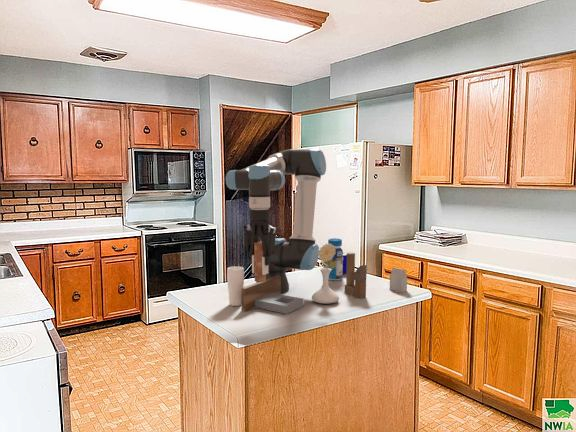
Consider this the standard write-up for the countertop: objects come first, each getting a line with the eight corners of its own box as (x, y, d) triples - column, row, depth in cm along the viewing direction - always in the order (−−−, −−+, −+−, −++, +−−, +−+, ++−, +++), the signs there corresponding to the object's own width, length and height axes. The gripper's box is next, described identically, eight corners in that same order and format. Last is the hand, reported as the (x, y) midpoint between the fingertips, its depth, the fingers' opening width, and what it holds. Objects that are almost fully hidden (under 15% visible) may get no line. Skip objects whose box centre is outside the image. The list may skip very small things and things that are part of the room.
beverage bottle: (324, 276, 228) (325, 238, 226) (340, 276, 229) (341, 237, 227) (327, 280, 219) (328, 240, 217) (344, 280, 220) (345, 240, 218)
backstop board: (241, 310, 173) (241, 287, 172) (276, 296, 193) (276, 275, 192) (245, 311, 171) (245, 288, 171) (280, 297, 191) (280, 276, 190)
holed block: (255, 307, 176) (254, 299, 176) (272, 299, 186) (272, 292, 186) (286, 314, 168) (286, 306, 168) (303, 306, 178) (303, 298, 178)
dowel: (252, 281, 161) (252, 242, 159) (259, 278, 164) (258, 241, 163) (261, 282, 159) (261, 243, 157) (268, 280, 162) (267, 242, 160)
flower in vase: (306, 299, 187) (307, 241, 185) (330, 296, 192) (331, 239, 189) (321, 308, 176) (322, 245, 173) (346, 305, 180) (347, 244, 178)
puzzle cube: (332, 275, 232) (332, 256, 231) (323, 271, 241) (323, 253, 240) (348, 273, 236) (349, 254, 235) (339, 269, 245) (339, 251, 244)
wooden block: (359, 298, 190) (360, 256, 188) (344, 292, 199) (344, 252, 197) (366, 297, 191) (367, 256, 190) (350, 291, 201) (351, 252, 199)
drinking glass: (228, 301, 184) (228, 266, 182) (245, 302, 184) (245, 266, 182) (226, 306, 177) (225, 269, 176) (243, 307, 177) (242, 270, 176)
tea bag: (401, 292, 199) (402, 270, 198) (389, 289, 205) (390, 267, 204) (406, 291, 201) (407, 269, 200) (394, 288, 207) (395, 266, 206)
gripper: (234, 208, 160) (235, 272, 163) (273, 210, 151) (273, 278, 153) (247, 206, 166) (248, 268, 169) (285, 209, 157) (285, 274, 160)
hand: (260, 273), depth 161 cm, fingers closed on dowel, 4 cm apart
